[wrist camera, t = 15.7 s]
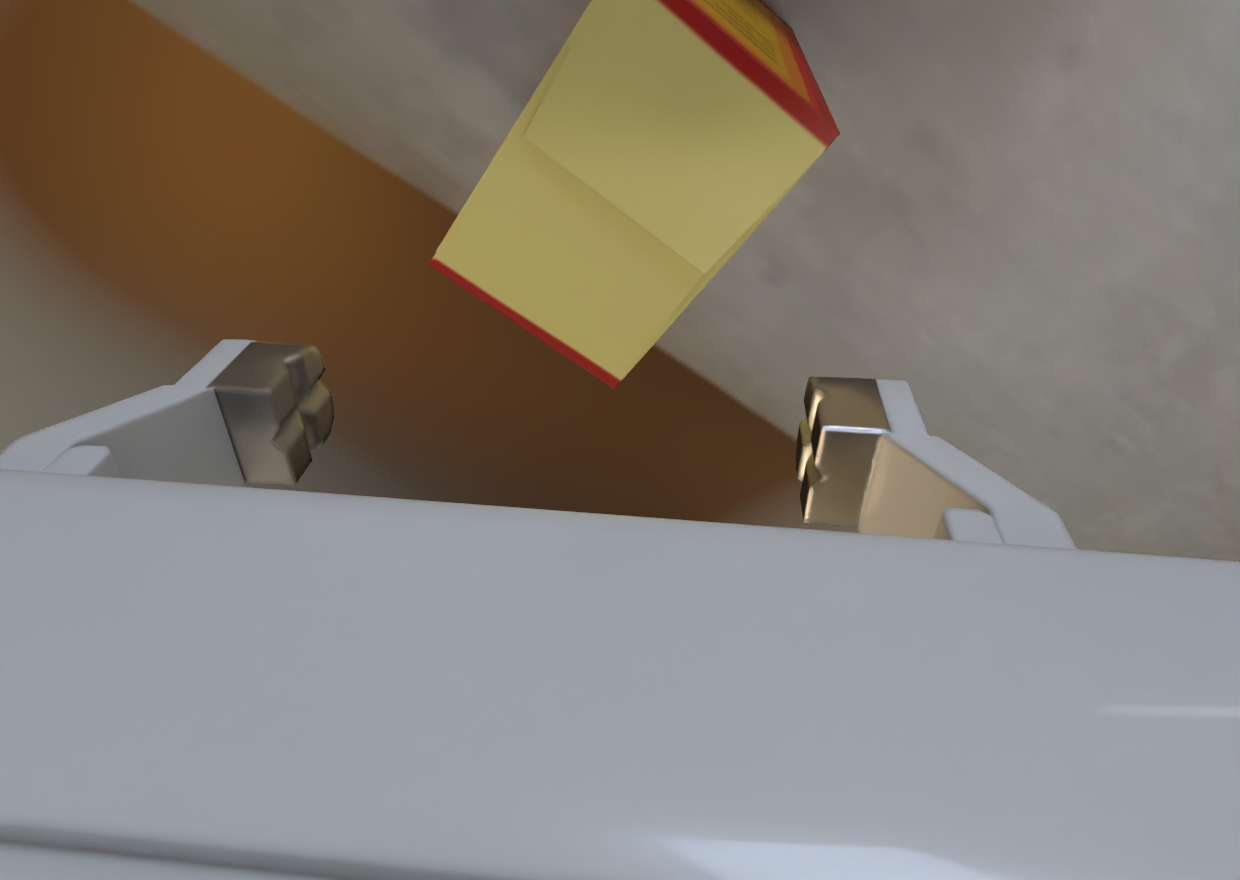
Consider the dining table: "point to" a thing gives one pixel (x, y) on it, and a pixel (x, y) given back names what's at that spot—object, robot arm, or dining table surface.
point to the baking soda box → (638, 173)
